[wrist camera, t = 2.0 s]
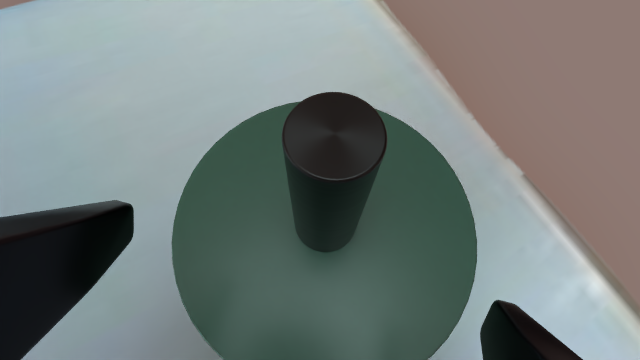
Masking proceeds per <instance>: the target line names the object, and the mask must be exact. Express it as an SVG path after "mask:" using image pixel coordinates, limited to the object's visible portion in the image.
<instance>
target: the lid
mask: <svg viewBox="0 0 640 360" xmlns="http://www.w3.org/2000/svg"><path fill="white" fill-rule="evenodd" d="M172 263H173V268H174V274H175V280H176V284H177V287H178V290H179V293H180V296H181V299H182V303H183V305H184V307H185V309H186V311H187V313H188V315H189V317H190V319H191V321H192V323H193V324H194V326H195V327H196V328H197V330H198V331H199V333H200V334H201V336H202V337H203V338H204V340H205V341H206V342H207V343H208V344H209V345H210V346H211V348H212V349H213V350H214V351H215V352H216V353H217V354H218V355H219V356H220V357H221V358H222V359H224V360H428V359H429V358H430V357H431V356H432V355H433V354H434V353H435V352H436V351H437V350H438V349H439V348H440V346H441V345H442V344H443V343H444V342H445V341H446V340H447V338H448V337H449V335H450V334H451V332H452V331H453V329H454V328H455V326H456V325H457V323H458V321H459V320H460V318H461V315H462V313H463V311H464V309H465V307H466V304H467V302H468V300H469V296H470V293H471V289H472V286H473V282H474V277H475V270H476V263H477V239H476V231H475V223H474V219H473V215H472V211H471V208H470V204H469V201H468V199H467V196H466V194H465V192H464V189H463V187H462V185H461V183H460V181H459V179H458V178H457V176H456V174H455V172H454V171H453V169H452V168H451V166H450V165H449V164H448V162H447V161H446V160H445V158H444V157H443V156H442V155H441V153H440V152H439V151H438V150H437V149H436V148H435V147H434V146H433V145H432V144H431V143H430V142H429V141H428V140H427V139H426V138H424V137H423V136H422V135H421V134H420V133H419V132H417V131H416V130H414V129H413V128H411V127H410V126H408V125H407V124H406V123H404V122H402V121H400V120H399V119H397V118H395V117H393V116H391V115H389V114H387V113H384V112H382V111H379V110H377V109H374V108H373V107H372V106H371V105H370V104H368V103H367V102H365V101H364V100H362V99H360V98H358V97H356V96H353V95H350V94H346V93H340V92H326V93H320V94H317V95H313V96H311V97H308V98H307V99H305V100H303V101H301V102H295V103H289V104H285V105H282V106H278V107H274V108H272V109H269V110H267V111H264V112H261V113H259V114H257V115H255V116H253V117H251V118H249V119H247V120H245V121H244V122H242V123H241V124H239V125H238V126H236V127H235V128H233V129H232V130H230V131H229V132H228V133H227V134H225V135H224V136H223V137H222V138H221V139H220V140H219V141H217V142H216V143H215V144H214V145H213V147H212V148H211V149H210V150H209V151H208V152H207V153H206V154H205V155H204V157H203V158H202V159H201V161H200V162H199V164H198V165H197V166H196V168H195V169H194V171H193V173H192V174H191V176H190V178H189V180H188V182H187V184H186V186H185V188H184V190H183V193H182V196H181V198H180V201H179V203H178V207H177V211H176V216H175V220H174V225H173V235H172Z"/></svg>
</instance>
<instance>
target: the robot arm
mask: <svg viewBox="0 0 640 360" xmlns="http://www.w3.org/2000/svg"><path fill="white" fill-rule="evenodd" d="M133 232H134V211H133V207H132V205H131V204H129V203H125V202H122V201H118V200H112V201H106V202H99V203H92V204H86V205H79V206H73V207H66V208H59V209H53V210H46V211H40V212H33V213H26V214H20V215H13V216H7V217H0V360H21V359H22V358H23V357H24V356H25V355H26V354H27V353H28V352H29V351H30V350H31V349H32V348H33V347H34V346H35V345H36V344H37V343H38V342H39V341H40V340H41V339H42V338H43V337H44V336H45V335H46V334H47V333H48V332H49V331H50V330H51V329H52V328H53V327H54V326H55V325H56V324H57V323H58V322H59V321H60V320H61V319H62V318H63V317H64V316H65V315H66V314H67V313H68V312H69V311H70V310H71V309H72V308H73V307H74V306H75V305H76V304H77V303H78V302H79V301H80V300H81V299H82V298H83V297H84V296H85V295H86V294H87V293H88V292H89V291H90V290H91V288H92V287H93V286H94V285H95V284H96V283H97V282H98V280H99V279H100V278H101V277H102V276H103V274H104V273H105V272H106V271H107V269H108V268H109V267H110V266H111V265H112V263H113V262H114V261H115V260H116V259H117V257H118V256H119V255H120V254H121V253H122V251H123V250H124V249H125V248H126V246H127V245H128V244H129V243H130V241H131V239H132V237H133ZM480 338H481V346H482V354H483V360H583V359H581V358H580V357H579V356H578V355H577V354H575V353H574V352H573V351H572V350H570V349H569V348H568V347H567V346H566V345H564V344H563V343H562V342H561V341H559V340H558V339H557V338H556V337H555V336H553V335H552V334H551V333H550V332H548V331H547V330H546V329H545V328H544V327H542V326H541V325H540V324H539V323H537V322H536V321H535V320H534V319H533V318H531V317H530V316H529V315H528V314H526V313H525V312H524V311H523V310H522V309H520V308H519V307H518V306H517V305H515V304H513V303H509V302H505V301H501V300H496V301H494V302H493V304H492V305H491V308H490V310H489V312H488V314H487V316H486V318H485V321H484V323H483V325H482V327H481V332H480Z"/></svg>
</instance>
